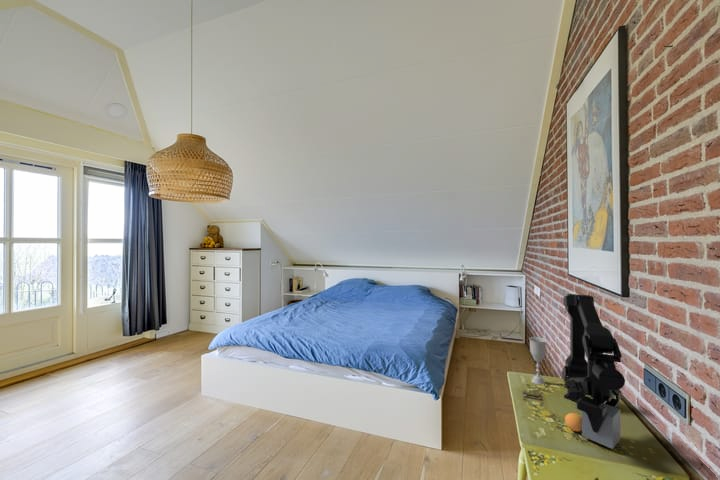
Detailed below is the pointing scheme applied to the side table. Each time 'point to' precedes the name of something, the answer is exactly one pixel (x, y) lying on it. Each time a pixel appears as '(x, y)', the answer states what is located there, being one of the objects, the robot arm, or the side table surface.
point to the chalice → (538, 356)
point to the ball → (574, 421)
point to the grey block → (604, 428)
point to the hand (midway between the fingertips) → (599, 427)
